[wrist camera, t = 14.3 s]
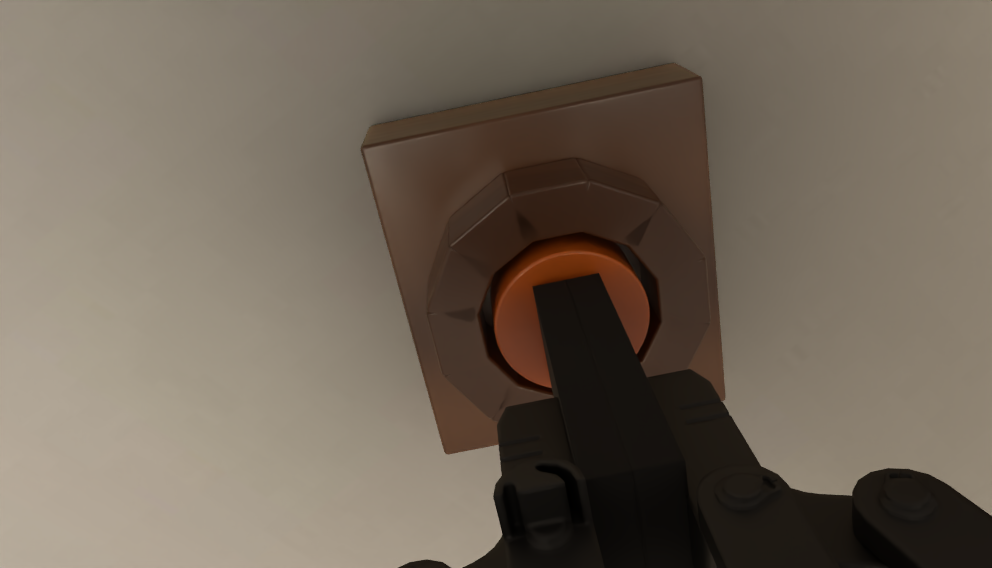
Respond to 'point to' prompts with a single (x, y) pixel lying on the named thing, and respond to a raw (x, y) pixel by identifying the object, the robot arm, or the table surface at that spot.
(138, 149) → the table surface
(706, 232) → the button block
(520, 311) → the button
